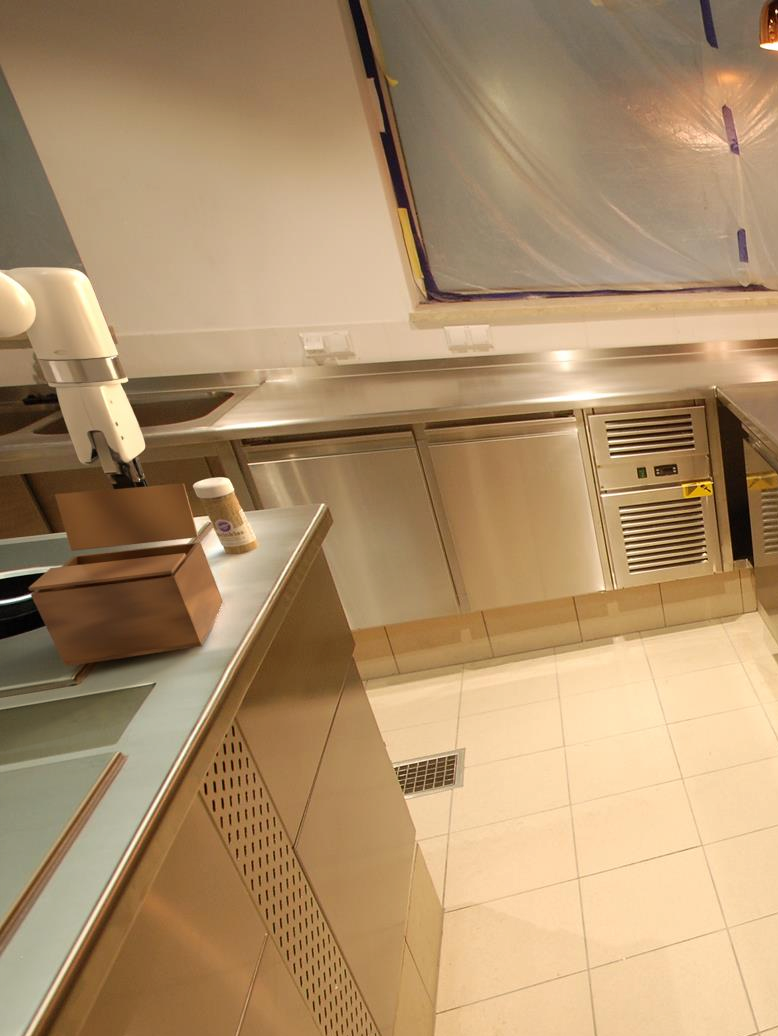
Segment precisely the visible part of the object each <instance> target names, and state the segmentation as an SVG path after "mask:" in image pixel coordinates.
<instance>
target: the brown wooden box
mask: <svg viewBox="0 0 778 1036" xmlns="http://www.w3.org/2000/svg"><path fill="white" fill-rule="evenodd" d="M28 590H29V591H31V592H32V591H33V592H32V593H31V594H30V596H31V598H32V600H33V602H34V604H35V606H36V609H37V610H38V613H39V615H40V617H41V619H42V621H43V624H44V626H45V627H46V629H47V631H48V633H49V635H50V638H51V640H52V641H53V644H54V646H55V648H56V651H57V652H58V654H59V656H60V658H61V660H62V662H63V665H64V667H73V666H78V665H79V666H80V665H84V664H85V665H86V664H93V663H98V662H105V661H111V660H119V659H124V658H125V659H126V658H131V657H137V656H145V655H150V654H157V653H164V652H165V653H166V652H172V651H179V650H183V649H184V650H185V649H191V648H197V647H202V646H203V644H204V643H205V641H206V640H207V638H208V635H209V634H210V632H211V631H212V628H213V627H214V625H215V623H216V621H215V619H216V620H217V618H218V616H217V614H218V615H219V613H220V611H219V609H220V610H221V608H222V605H223V603H224V600H223V598H222V595H221V592H220V590H219V588H218V585H217V582H216V579H215V576H214V574H213V571H212V569H211V566H210V564H209V561H208V558H207V556H206V553H205V550H204V548H203V545H202V543H201V542H200V541H199V542H197V541H196V542H189V543H180V544H170V545H162V546H161V545H160V546H152V547H143V548H133V549H132V548H131V549H124V550H114V551H105V552H97V553H86V554H79V555H78V554H77V555H73V556H72V557H71V558H70V559H68V560H67V561H66V562H65V563H64V564H63V565H61V566H58V567H50V568H49V569H48V570H47V571H46V572H45V573H43V574H42V575H41V576H40V577H39V578H38V579H36V581H34V582H33V583H32V584H31V585H30V586H29V587H28ZM222 602H223V603H222ZM221 604H222V605H221ZM220 607H221V608H220ZM218 612H219V613H218ZM216 617H217V618H216ZM214 622H215V623H214ZM213 624H214V625H213Z"/></svg>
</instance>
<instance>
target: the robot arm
mask: <svg viewBox="0 0 778 1036" xmlns="http://www.w3.org/2000/svg"><path fill="white" fill-rule="evenodd" d="M101 308H102V307H101V306H100V303H99V301H98V298H97V295H96V293H95V290H94V288H93V285H92V283H91V281H90V279H89V278H88V276H87V275H86V274H84V273H83V272H82V271H80V270H78V269H75V268H71V267H70V268H69V267H51V266H50V267H49V266H48V267H47V266H39V267H38V266H37V267H36V266H35V267H34V266H33V267H31V266H29V267H14V268H11V269H0V338H1V339H3V338H11V337H16V336H19V335H21V334H23V333H26V336H27V338H28V340H29V342H30V345H31V347H32V350H33V351H34V354H35V356H36V358H37V362H38V363H39V366H40V368H41V371H42V373H43V376H44V378H45V380H46V383H47V385H48V386H49V387H51V388H55V392H56V395H57V400H58V403H59V404H58V405H59V408H60V410H61V414H62V417H63V419H64V422H65V426H66V429H67V432H68V434H69V437H70V439H71V442H72V445H73V447H74V450H75V454H76V456H77V458H78V460H79V462H80V463H81V464H82V465H85V466H92V465H93V464H95V463H96V462H98V461H100V464H101V467H102V470H103V473H104V475H106V476H107V477H108V479H109V482H110V483H111V485H112V488H113V489H124V488H137V487H149V486H150V485H149V483H148V481H147V478H146V477H145V472H144V470H143V467H142V464H141V461H140V457H139V455H140V454H141V453H143V451H144V450H145V449H146V443H145V438H144V435H143V433H142V430H141V426H140V424H139V421H138V420H137V417H136V415H135V413H134V410H133V408H132V406H131V403H130V400H129V399H128V396H127V393H126V392H125V390H124V388H123V386H122V384H125V383H127V382H129V379H128V376H127V373H126V371H125V368H124V366H123V363H122V360H121V358H120V356H119V353H118V350H117V347H116V345H115V342H114V340H113V337H112V334H111V332H110V329H109V327H108V324H107V321H106V319H105V316H104V313H103V311H102V309H101Z"/></svg>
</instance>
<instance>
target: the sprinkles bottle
mask: <svg viewBox="0 0 778 1036" xmlns="http://www.w3.org/2000/svg"><path fill="white" fill-rule="evenodd" d="M192 488H193V490H194V493H195V495H196V497H197V498H198V499H199V500H200V501H201V503H202V506H203V508H204V510H205V512H206V515H207V517H208V518H209V521H210V523H211V525H212V527H213V531H214V533H215V534H216V536H217V538H218V541H219V543H220V545H221V546H222V547H223V549H224V551H225V553H226V554H228V555H239V554H244V553H249V552H251V551H254V550H256V549H257V548H259V545H260V544H259V543H258V542H259V541H258V540H257V537H256V535H255V533H254V530H253V529H252V527H251V524H250V523H249V521H248V518H247V516H246V514H245V512H244V510H243V508H242V507H241V505H240V502H239V500H238V498H237V496H236V494H235V488H234V486H233V483H232V482H231V480H230V479H229V478H227V477H223V476H221V477H209V478H205V479H202V480H199V481H196V482H194V484H193V485H192Z"/></svg>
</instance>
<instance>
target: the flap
mask: <svg viewBox="0 0 778 1036" xmlns="http://www.w3.org/2000/svg"><path fill="white" fill-rule="evenodd" d="M54 496H55V500H56V503H57V507H58V510H59V513H60V517H61V521H62V524H63V528H64V531H65V534H66V537H67V541H68V545H69V548H70V551H72V552H74V551H75V552H76V551H84V550H94V549H103V548H113V547H121V546H130V545H141V544H149V543H159V542H169V541H177V540H187V539H196V538H199V534H198V530H197V526H196V522H195V519H194V515H193V512H192V508H191V503H190V499H189V497H188V492H187V488H186V484H185V483H173V484H163V485H151V486H150V485H149V487H137V488H124V489H114V488H113V489H102V490H90V491H89V490H88V491H80V492H78V491H77V492H67V493H66V492H65V493H55V494H54Z"/></svg>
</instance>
